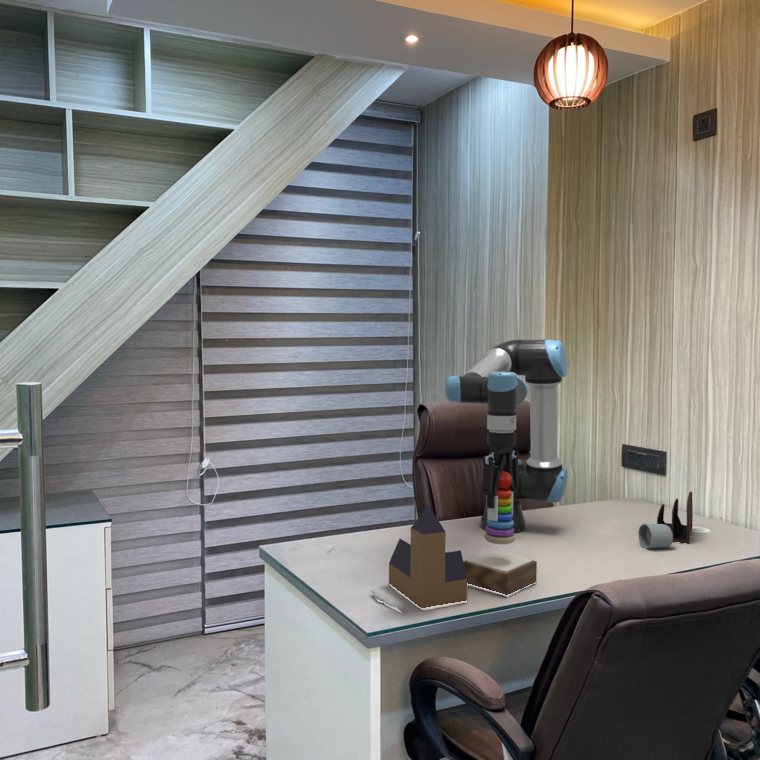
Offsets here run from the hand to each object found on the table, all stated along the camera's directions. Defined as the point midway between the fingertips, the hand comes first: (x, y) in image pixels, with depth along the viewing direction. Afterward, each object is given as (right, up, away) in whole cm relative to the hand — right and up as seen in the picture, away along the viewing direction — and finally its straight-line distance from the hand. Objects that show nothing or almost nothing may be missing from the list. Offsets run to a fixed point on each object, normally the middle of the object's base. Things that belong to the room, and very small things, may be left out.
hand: (500, 517), depth 188 cm
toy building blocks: (-20, -19, -6) cm, 28 cm away
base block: (0, -18, +1) cm, 18 cm away
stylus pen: (-30, -19, -13) cm, 38 cm away
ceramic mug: (+54, -16, +35) cm, 66 cm away
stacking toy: (0, -7, 0) cm, 7 cm away
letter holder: (+66, -15, +48) cm, 83 cm away
